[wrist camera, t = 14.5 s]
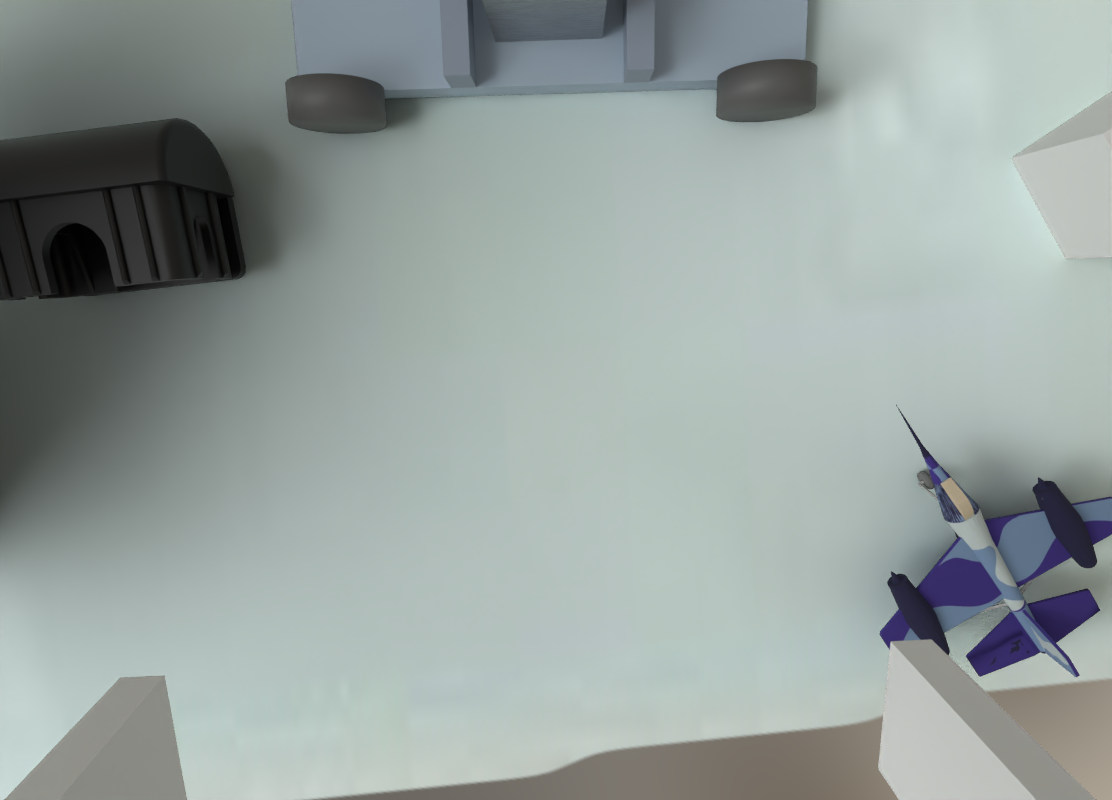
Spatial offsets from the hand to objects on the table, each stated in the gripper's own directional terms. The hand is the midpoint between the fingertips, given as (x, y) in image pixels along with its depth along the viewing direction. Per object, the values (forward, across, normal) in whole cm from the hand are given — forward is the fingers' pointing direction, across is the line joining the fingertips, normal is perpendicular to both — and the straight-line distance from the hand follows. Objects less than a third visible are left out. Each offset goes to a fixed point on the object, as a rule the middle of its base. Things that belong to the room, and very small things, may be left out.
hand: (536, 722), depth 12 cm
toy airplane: (+23, +23, -8) cm, 34 cm away
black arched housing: (+26, -20, +10) cm, 34 cm away
